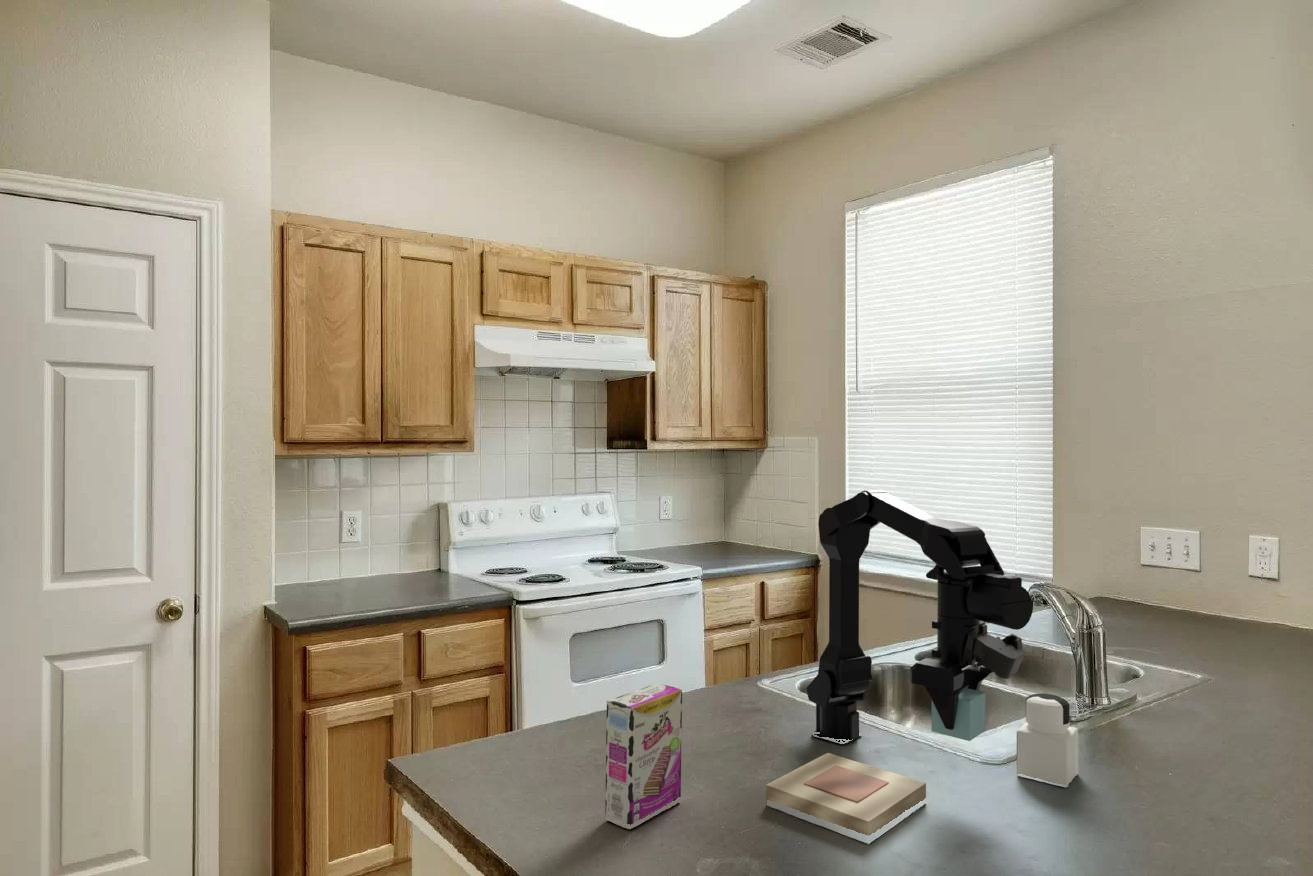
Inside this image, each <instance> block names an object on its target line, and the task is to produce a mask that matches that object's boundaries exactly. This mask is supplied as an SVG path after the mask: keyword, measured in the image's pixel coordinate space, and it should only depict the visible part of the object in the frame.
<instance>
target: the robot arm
mask: <svg viewBox="0 0 1313 876" xmlns="http://www.w3.org/2000/svg"><path fill="white" fill-rule="evenodd" d="M817 523H818V525H817V526H818V532H819V533H818V534H819V542H820V545H821V546H822V548H823V550H824V552H825V553H826V555H827V557H828V560H829V561H828V562H829V563H828V564H829V565H828V568H829V569H828V570H829V572H828V573H829V574H828V575H829V578H828V579H829V582H828V587H829V588H828V589H829V590H828V598H829V599H828V604H829V605H828V607H829V608H828V643H827V645H826V646H825V648H824V650H823V652H822V654H821V655H820V658H819V662H818V663H819V664H818V670H817V674H816V676H814V678H813V680H812V681H811V682H809V684H808V685H807V686H806V694H807V698H808V701H810V702H812V703H814V704H815V727H816V728H815V730H814V731H813V732H820V734H814V735H817V736H819V737H829V738H834V739H846V740H848V739H849V740H852V739H854V738H856V737H858V736H859V732H860V713H859V711H858V702H863V701H865V698H866V694H867V691H868V689H869V688H870V684H871V683H870V682H871V681H872V680H873V676H872V664H873V663H872V661H873V660H872V658H871V656H870V655H866V654H865V652H864V650H863V648H862V647H861V646H860V561H861V560H860V559H861V558H862V556H863V554H864V552H865V551H866V548H868V546H869V543H870V542H869V541H870V534H871V530H872V529H874V528H875V527H876V526H878V525H879V524H883V525H884V526H887V527H888V528H890V529H892V530H894V531H895V532H897V533H899V534H901V535H902V536H905V537H906V538H908V539H910V540H912V541H914V542H916V543H917V545H919V546H920V549H921V551H922V554H924V555H925V557H927V558H928V559H930V560H931V561H932V562H933V563H934V564H935V566H934V567H933V568H932V569H929V571H928V572H926V574H925V578H927V579H930V580H935V581H937V584H936V585H937V588H936V589H937V591H936V593H937V595H936V596H937V598H936V602H937V607H936V608H937V610H936V611H937V614H936V615H937V617H936V619H934V620H931V629H936V633H937V635H936V636H937V637H936V640H937V641H936V643H937V645H936V647H935V648H933V649H931V657H932V658H929V657H926V658H924V659H921V660H919V661H917V662H915V663H914V664H913V665H912V666H911V667H910V668H909V682H910V683H911V684H915V685H918V686H923V687H924V688H925V690H926V692H927V694H928V695H929V697H930V699H931V702H932V701H933V703H934V705H935V707H936V709H937V712H938V714H939V716H940V718H941V720H942V722H943V724H944V726H945V728H946V729H950V730H953V729H954V725H955V720H956V713H957V706H958V698H959V694H960V693H961V692H962V691H964V690H965V689H966V688H968V689H973V690H978V691H980V688H981V686H982V683H983V681H984V680H986V679H987V678H989V676H991V675H992V674H995V676H996V677H999V678H1000V679H1004V680H1008V679H1010V678H1011V677H1012V676H1013V675H1016V674H1017V673H1018V670H1019V668H1020V667H1021V666H1020V665H1021V663H1022V662H1023V661H1025V659H1026V655H1025V652H1026V650H1025V649H1023V648H1024V647H1023V641H1022V637H1020V636H1018V635H1016V634H1014V633H1010V634H1008V635H1006V636H1005V637H1004V638H1003V639H1001V637H1000V636H996V637H995V636H993V635H991V634H988V625H987V624H986V623H988V624H992V625H996V626H999V627H1003V628H1007V629H1011V630H1016V631H1019V630H1021V629H1024V628H1025V627H1026V626H1027V624H1028V623H1029V622H1030V620H1031V618H1032V615H1033V611H1034V601H1032V598H1031V595H1030V593H1029V591H1028V590H1027V589H1026V588H1025V587H1023V584H1022V583H1023V582H1022V581H1023V580H1022V577H1021V576H1020V577H1019V576H1014V575H1012V576H1011V575H1010V576H1007V575H1005V571H1004V570H1003V567H1002V566H1001V564H1000V562H999V560H998V559H997V557H996V555H995V553H994V551H993V550H992V547H991V546H990V544H989V542H988V540H987V537H986V533H985V532H984V530H983V529H982V528H980V527H979V526H976V525H972V524H968V523H965V522H961V521H956V520H947V519H943V518H938V517H936V516H933V515H932V514H930V513H927V512H925V511H924V510H922V509H920V508H918V507H916V506H914V505H912V504H910V503H908V502H905V501H904V500H901V498H900V499H899V498H898V497H896V496H894V495H891V493H890V492H888V491H886V490H884V489H865V490H861V492H858V493H857V494H855V495H854V496H853V497H851V498H848V499H846V500H844V501H842V502H840V503H837V504H835V505H833V506H831V507H827V508H825V509H824V510H823V511H822V513H820V515H819V517H818V522H817ZM934 658H935V659H934ZM936 658H937V659H936ZM939 659H940V660H939ZM858 738H859V737H858ZM856 739H857V738H856ZM854 740H855V739H854ZM836 741H837V740H836ZM842 741H843V740H842ZM852 741H853V740H852ZM838 742H840V740H839V741H838ZM843 742H845V741H843Z"/></svg>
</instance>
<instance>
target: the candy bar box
mask: <svg viewBox="0 0 1313 876" xmlns="http://www.w3.org/2000/svg"><path fill="white" fill-rule="evenodd" d="M682 710H683V689H681V688H679V687H674V686H670V685H666V684H662V683H657V682H656V683H654V684H652V685H649V686H646V687H645V686H644V687H643V688H640V689H638V690H634V691H632V692H629V693H626V694H624V695H620V696H618V697H613V698H612V699H608V700H607V701H606V731H605V733H606V734H605V735H606V736H605V742H606V744H605V749H606V750H605V798H604V799H605V803H604V804H605V807H604V809H605V810H604V812H605V813H604V816H605V815H606V816H609V817H611V818H614V819H617V820H619V821H622V822H624V823H626V824H630V825H631V824H633V823H636V822H637V821H639V820H640V819H643V818H645V817H646V816H648V815H651V814H652V813H654V812H655V811H657V810H659V809H661V808H662V807H664V806H667V804H669V803H671V802H672V801H675V800H676V799H677V798H678V797H681V798H682V795H681V793H682V790H681V789H682V732H683V731H682V730H683V722H682V721H683V719H682V718H683V711H682Z"/></svg>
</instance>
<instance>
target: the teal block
mask: <svg viewBox="0 0 1313 876" xmlns="http://www.w3.org/2000/svg"><path fill="white" fill-rule="evenodd" d="M985 731H986V691H981V690H979V691H978V690H973V689H968V688H966V689H965V690H964V691H962V692H961V693H960V694H959V698H958V706H957V713H956V720H955V725H954V729H953V730H950V729H946V728H945V726H944V724H943V722H942V720H941V718H940V716H939V714H938V712H937V709H936V707H935V705H934V703H933V701H932V700H931V732H933V733H936V734H940V735H944V736H949V737H953V738H956V739H958V740H959V739H960V740H964V741H967V742H971V741H972V740H974V739H975V738H977V737H978V736H980V735H981V734H983V733H984V732H985Z"/></svg>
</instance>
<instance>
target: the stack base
mask: <svg viewBox="0 0 1313 876" xmlns="http://www.w3.org/2000/svg"><path fill="white" fill-rule="evenodd" d="M925 798H926V799H927V782H924V781H921V780H917V779H915V778H911V777H908V776H905V775H902V774H898V773H896V772H891V771H888V770H885V769H882V768H878V767H876V766H872V765H869V764H865V763H864V762H863V763H862V762H859V761H856V760H852V759H849V758H846V757H843V756H839V755H837V754H834V753H833V754H832V753H829V752H826V753H825V754H823V755H821V756H819V757H817V758H815V759H813V760H810V761H809V762H807V763H805V764H803V765H802V766H799V767H798V768H796V769H793V770H791V771H790V772H787V773H786V774H783V775H782V776H780V777H778V778H776V779H774V780H773V781H770V782H769V783H766V785H765V800H766V799H767V800H770V801H774V802H777V803H778V804H781V805H783V806H787V807H791V808H792V809H795V810H799V811H800V812H803V813H806V814H808V815H812V816H814V817H816V818H818V819H823V820H826V821H828V822H831V823H833V824H837V825H839V826H842V827H845V828H847V829H851V830H854V831H856V832H858V833H862V834H865V835H868V836H869V835H871V834H872V833H875V832H876V831H877V830H878V829H881V828H882V827H883V826H884V825H886V824H888V823H889V822H890V821H892V820H893V819H895V818H897V817H898V816H899V815H901V814H902V813H903V812H905V810H908V809H910V808H911V807H913V806H915V805H916V804H918V803H919V802H920V801H923V800H924V799H925Z"/></svg>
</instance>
